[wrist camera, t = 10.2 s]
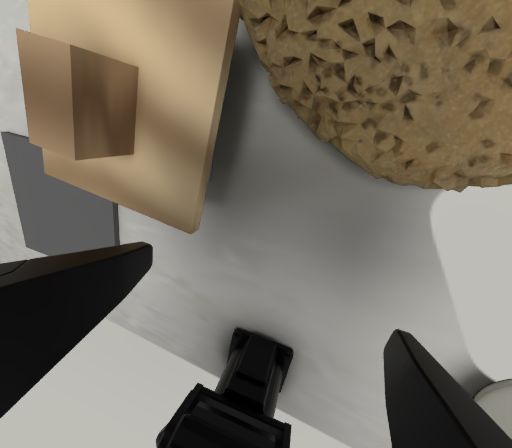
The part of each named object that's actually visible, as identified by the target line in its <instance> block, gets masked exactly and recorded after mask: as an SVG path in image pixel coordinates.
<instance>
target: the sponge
mask: <svg viewBox="0 0 512 448" xmlns="http://www.w3.org/2000/svg"><path fill="white" fill-rule="evenodd" d="M237 1H238V2H239V4H240V5H241V7H242V8H241V13H240V18H241V19H242V20H243V21H244V23H245V25H246V28H247V31H248V33H249V35H250V37H251V40H252V42H253V44H254V47H255V49H256V52H257V54H258V57H259V59H260V61H261V62H262V64H263V66H264V68H265V69H266V70H267V71H268V72H270V73H271V75H270V76H269V80H270V82H271V85H272V87H273V89H274V90H275V92H276V94H277V95H278V96H280V99H279V100H280V101H281V102H282V103H283V104H288V105H289V106H290V107H291V108H292V109H293V110H294V111H295V112H296V113H297V115H298V118H301V119H302V120H303V121H305V122H306V123H307V125H308V127H309V128H310V129H311V130H312V132H313V133H314V134H315V135H316V136H317V137H318V138H319V140H323V141H324V142H325V143H326V142H331V144H332V145H333V146H334V147H336V148H337V149H338V150H339V151H340V152H342V153H343V154H344V155H345V156H346V157H347V158H348V159H350V160H351V161H353V162H355V163H356V164H358V165H359V166H360V167H362V168H363V169H364V170H366V171H367V172H368V173H370V174H371V175H372V176H373V177H375V178H376V179H377V178H384V179H386V180H387V181H389V182H391V183H395V184H398V185H416V186H418V187H421V188H423V189H445V190H446V191H449V190H456V191H458V192H461V191H463V190H464V189H465V188H466V187H467V186H480V187H481V188H484V187H497V186H501V185H507V184H512V0H237Z"/></svg>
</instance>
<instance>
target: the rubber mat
mask: <svg viewBox="0 0 512 448" xmlns="http://www.w3.org/2000/svg"><path fill="white" fill-rule="evenodd" d="M1 135H2V140H3V144H4V149H5V153H6V158H7V162H8V167H9V171H10V176H11V180H12V185H13V189H14V194H15V198H16V203H17V207H18V212H19V216H20V221H21V225H22V230H23V234H24V239H25V243H26V247H28V248H30V249H33V250H35V251H38V252H40V253H43V254H45V255H48V256H54V255H60V254H66V253H73V252H79V251H85V250H92V249H98V248H104V247H111V246H117V245H119V227H118V206H117V203H115V202H112V201H110V200H108V199H105V198H103V197H100V196H98V195H96V194H93V193H91V192H88V191H86V190H84V189H81V188H79V187H76V186H74V185H72V184H69V183H67V182H64V181H62V180H60V179H57V178H55V177H52V176H50V175H48V174H45V172H44V162H43V152H42V147H39V146H37V145H34V144H32V143H30V142H29V137H25V136H21V135H17V134H14V133H10V132H1Z"/></svg>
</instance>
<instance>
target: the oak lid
mask: <svg viewBox="0 0 512 448" xmlns="http://www.w3.org/2000/svg"><path fill="white" fill-rule="evenodd" d="M27 3H28V13H29V23H30V32H27V31H24V30H21V29H17V28H16V34H17V42H18V50H19V59H20V67H21V75H22V84H23V92H24V100H25V109H26V117H27V125H28V133H29V142H30V143H32V144H34V145H37V146H39V147H42V152H43V162H44V172H45V174H48V175H50V176H52V177H55V178H57V179H60V180H62V181H64V182H67V183H69V184H72V185H74V186H76V187H79V188H81V189H84V190H86V191H88V192H91V193H93V194H96V195H98V196H100V197H103V198H105V199H108V200H110V201H112V202H115V203H117V204H119V205H122V206H124V207H127V208H129V209H131V210H134V211H136V212H139V213H141V214H143V215H146V216H148V217H151V218H153V219H155V220H158V221H160V222H163V223H165V224H167V225H170V226H172V227H175V228H177V229H179V230H182V231H184V232H187V233H189V234H192V233H194V232H195V231H197V230H198V229H199V224H200V219H201V214H202V209H203V203H204V198H205V193H206V188H207V183H208V178H209V173H210V167H211V162H212V157H213V152H214V147H215V142H216V137H217V131H218V126H219V121H220V116H221V111H222V106H223V100H224V95H225V90H226V85H227V80H228V75H229V70H230V64H231V59H232V54H233V49H234V44H235V39H236V34H237V28H238V23H239V18H240V13H241V8H242V7H241V5H240V4H239V2H238V1H237V0H27Z"/></svg>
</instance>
